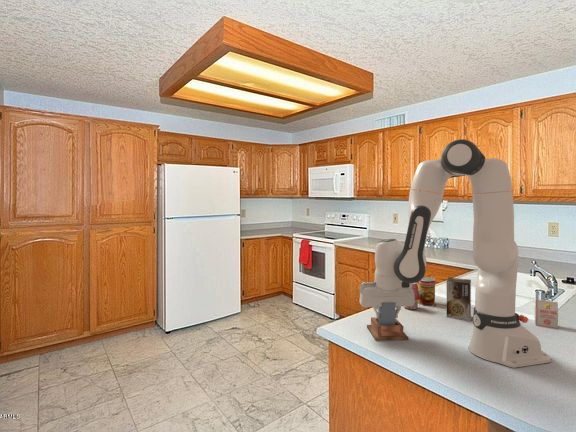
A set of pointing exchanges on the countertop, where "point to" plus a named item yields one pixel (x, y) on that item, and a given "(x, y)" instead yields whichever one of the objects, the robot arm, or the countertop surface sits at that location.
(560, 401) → the countertop surface
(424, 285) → the canned food
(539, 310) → the beige food box
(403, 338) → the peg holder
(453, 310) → the coffee box
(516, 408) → the countertop surface
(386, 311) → the square peg
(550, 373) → the countertop surface
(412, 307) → the beverage can
